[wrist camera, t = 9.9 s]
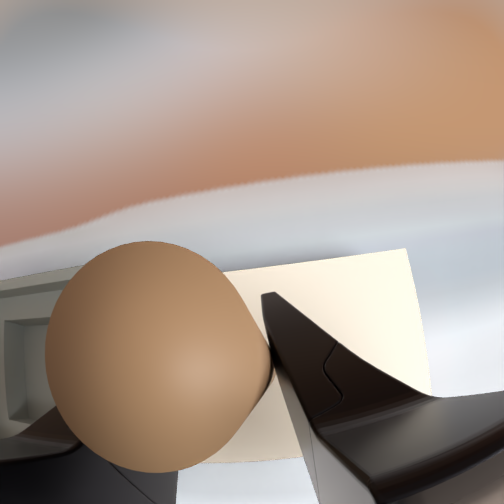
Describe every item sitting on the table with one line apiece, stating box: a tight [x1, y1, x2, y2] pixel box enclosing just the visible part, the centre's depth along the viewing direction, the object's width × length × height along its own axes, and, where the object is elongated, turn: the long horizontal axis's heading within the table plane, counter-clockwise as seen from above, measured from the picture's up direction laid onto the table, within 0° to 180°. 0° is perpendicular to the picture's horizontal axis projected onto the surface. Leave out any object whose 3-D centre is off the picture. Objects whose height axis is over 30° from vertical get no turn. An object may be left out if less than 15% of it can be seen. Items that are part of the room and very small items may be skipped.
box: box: [0, 265, 84, 439], centre depth 14 cm, size 12×10×4 cm
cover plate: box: [45, 241, 432, 473], centre depth 8 cm, size 10×8×11 cm
